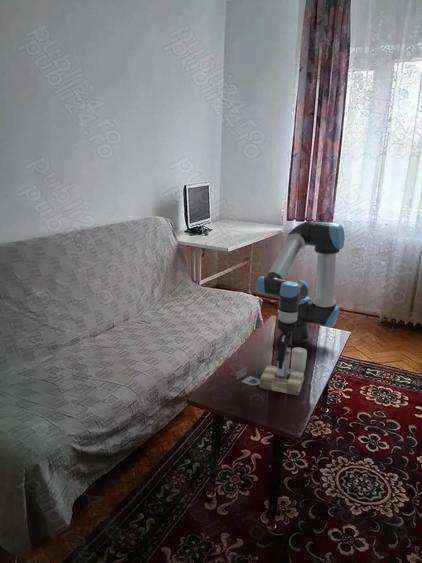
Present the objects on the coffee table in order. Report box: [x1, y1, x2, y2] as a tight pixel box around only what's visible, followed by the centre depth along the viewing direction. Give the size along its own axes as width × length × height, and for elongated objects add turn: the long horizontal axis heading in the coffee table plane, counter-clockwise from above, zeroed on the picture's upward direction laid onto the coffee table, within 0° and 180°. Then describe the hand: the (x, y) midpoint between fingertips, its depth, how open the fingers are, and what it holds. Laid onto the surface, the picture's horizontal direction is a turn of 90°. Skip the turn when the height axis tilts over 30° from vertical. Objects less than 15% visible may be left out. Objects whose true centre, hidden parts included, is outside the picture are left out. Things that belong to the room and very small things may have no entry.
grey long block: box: [277, 351, 291, 380], centre depth 173 cm, size 4×4×14 cm
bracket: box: [236, 367, 260, 386], centre depth 176 cm, size 7×10×4 cm, turn 48°
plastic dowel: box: [290, 347, 308, 372], centre depth 188 cm, size 6×6×9 cm
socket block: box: [259, 364, 305, 396], centre depth 174 cm, size 14×16×4 cm
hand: (283, 368), depth 173 cm, fingers open, 13 cm apart
